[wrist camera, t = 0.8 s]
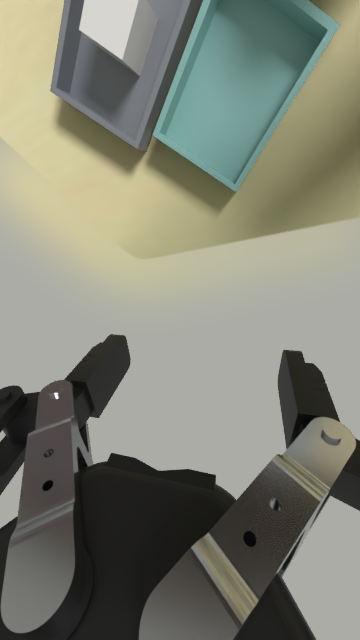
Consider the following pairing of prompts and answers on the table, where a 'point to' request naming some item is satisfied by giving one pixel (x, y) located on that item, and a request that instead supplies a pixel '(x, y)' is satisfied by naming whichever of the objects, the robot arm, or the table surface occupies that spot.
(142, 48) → the stone block
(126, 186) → the table surface
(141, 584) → the robot arm
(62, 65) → the bin
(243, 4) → the bin
